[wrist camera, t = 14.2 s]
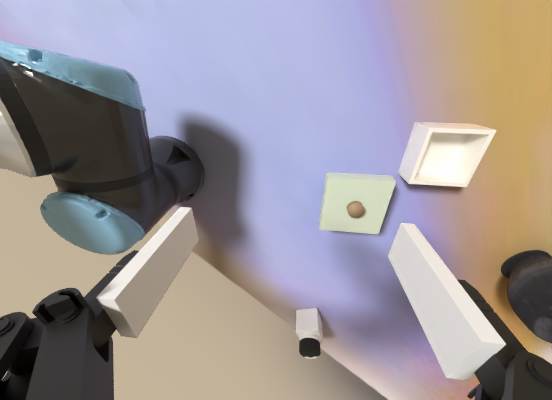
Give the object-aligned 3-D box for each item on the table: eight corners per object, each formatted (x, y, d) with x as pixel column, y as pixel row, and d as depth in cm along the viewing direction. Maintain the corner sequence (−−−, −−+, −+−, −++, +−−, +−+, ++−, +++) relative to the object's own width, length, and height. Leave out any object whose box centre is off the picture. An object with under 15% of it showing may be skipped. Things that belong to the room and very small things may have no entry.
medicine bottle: (295, 309, 70) (294, 349, 60) (316, 307, 68) (319, 348, 58) (301, 321, 73) (301, 361, 63) (321, 320, 71) (325, 361, 61)
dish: (397, 173, 43) (408, 183, 39) (415, 121, 38) (429, 127, 34) (449, 175, 42) (466, 187, 38) (474, 124, 37) (496, 130, 33)
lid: (318, 222, 47) (320, 233, 43) (326, 172, 41) (328, 180, 37) (374, 226, 46) (380, 238, 42) (391, 175, 40) (399, 184, 36)
